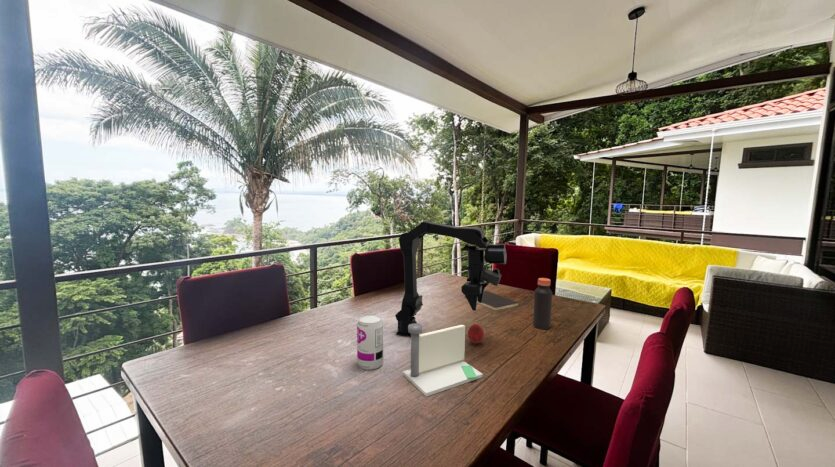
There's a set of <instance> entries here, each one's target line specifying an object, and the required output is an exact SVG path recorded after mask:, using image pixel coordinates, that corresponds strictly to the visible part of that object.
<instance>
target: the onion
mask: <svg viewBox="0 0 835 467" xmlns="http://www.w3.org/2000/svg"><path fill="white" fill-rule="evenodd" d="M467 337H468V339H469V341H471V343H473V344H475V345H476V344H478V343H480V342H481V341H483V339H484V337H485V332H484V330H483V328H482V326H480V325H479V323H478V322H477V321H475V322H474V324H473V325H471V326H470V327H469V328H468V330H467Z"/></svg>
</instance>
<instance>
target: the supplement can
mask: <svg viewBox="0 0 835 467" xmlns="http://www.w3.org/2000/svg"><path fill="white" fill-rule="evenodd" d="M356 346H357V347H356V353H357V355H356V358H357V362H356V363H357V365H358V367H359V368H361V369H362V370H366V371H367V370H368V371H371V370H376V369H378V368H380V367H381V366H382V365H383V364H384V321H383V319H382V317H381V316H379V315H375V314H368V315H362V316H360V317H359V318H358V321H357V323H356Z"/></svg>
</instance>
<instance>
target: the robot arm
mask: <svg viewBox="0 0 835 467" xmlns="http://www.w3.org/2000/svg"><path fill="white" fill-rule="evenodd" d="M428 233H429V234H434V235H440V236H444V237H448V238H454V239H457V240H459V241H462V242H463V243H465V245H464V246H463V247H462V248H461V251H464V252H465V251H466V252H467V265H466V267H465V268H466V271H467V275H468V276H467V277H466V282H465V283H464V284H463V285H462V286H461V293H462V294H463V295H464V297H466V298H465V299H466V300H467V302H468V304H469V306H470V308H471V310H472V311H477V308H478V306H477V305H478V304H479V303H482V299H483V294H484V291H485V288H486V287H488V285H490V284H491V285H492V286H496V287H497V286H498V285H499V284H500V281H501V278H502V274H501V273H500V269H499V268H493V269H492V270H490V269H487V265H486V264H485V261H486V262H487V263H488V264H491V265H492V264H493V265H495V264H496V265H506V264H507V255H508V254H507V249H506V244H505V243H499V244H498V243H496V244H493V243H491V241H490V240H489V239H488V238H487V237H486V233H485V231H484V229H483V228H482V227H479V226H457V225H456V226H455V225H450V224H444V223H439V222H432V221H430V220H425V221H424V220H423V221H421V222H420V223H419V224H418V225H417V226H415V227H413V228H412V229H410V230H408V231H407V232H406V231H405V232H403V233H401V234H400V235H399V237H398V243H399V248H400V251H401V253H402V255H403V272H404V274H403V275H404V277H403V278H404V295H403V298H402V301H401V307H400V308H401V309H400V310H399V311H398V312H397V313H395V319H396V321H397V331H396V333H395V335H397V336H404V337H410V338H411V333H409V332H408V325H409V324H413V323H417V324H418V322H417V321H416V316H417V314H418V313H419V311H421V309H422V306H424V304H423V295H421V294H419V292H418V284H417V283H418V280H417V278H418V277H417V276H418V275H417V253H418V250H419V247H420V240H421V239H422V238H423V237H424V236H425V235H426V234H428ZM477 300H478V302H479V303H477Z"/></svg>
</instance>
